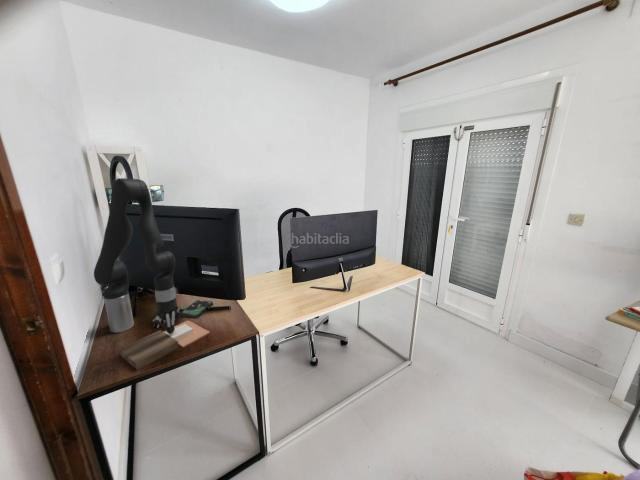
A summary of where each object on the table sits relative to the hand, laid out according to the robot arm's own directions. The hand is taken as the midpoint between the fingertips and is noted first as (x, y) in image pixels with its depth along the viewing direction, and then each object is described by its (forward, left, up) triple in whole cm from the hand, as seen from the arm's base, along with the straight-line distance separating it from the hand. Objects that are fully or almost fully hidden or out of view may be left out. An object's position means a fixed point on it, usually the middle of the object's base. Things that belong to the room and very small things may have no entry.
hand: (170, 332), depth 114 cm
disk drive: (-15, +22, -5) cm, 27 cm away
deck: (0, -9, -4) cm, 10 cm away
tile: (0, +4, -3) cm, 5 cm away
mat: (0, +6, -4) cm, 8 cm away
